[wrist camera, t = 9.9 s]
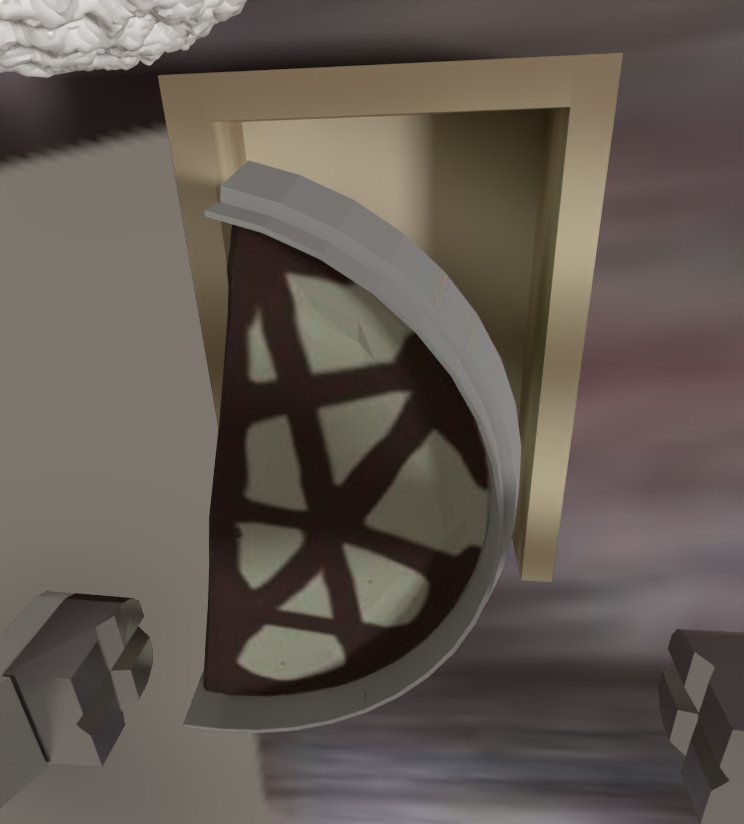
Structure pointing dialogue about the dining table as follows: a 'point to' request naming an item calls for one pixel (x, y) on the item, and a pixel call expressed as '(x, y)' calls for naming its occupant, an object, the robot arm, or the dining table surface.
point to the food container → (345, 464)
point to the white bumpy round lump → (101, 32)
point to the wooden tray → (434, 208)
